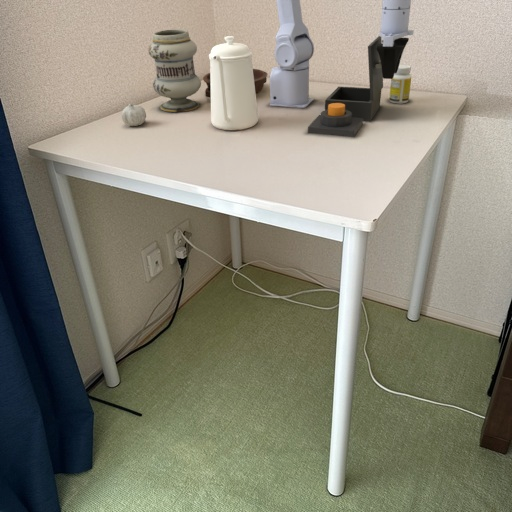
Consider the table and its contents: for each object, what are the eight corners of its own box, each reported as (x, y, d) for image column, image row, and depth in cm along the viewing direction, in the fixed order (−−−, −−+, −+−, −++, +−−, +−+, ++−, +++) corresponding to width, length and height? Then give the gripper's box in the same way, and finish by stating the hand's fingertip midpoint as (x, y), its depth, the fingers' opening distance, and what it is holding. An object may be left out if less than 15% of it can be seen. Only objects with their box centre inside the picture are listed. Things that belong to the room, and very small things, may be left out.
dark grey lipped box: (324, 118, 114) (325, 99, 112) (337, 103, 124) (338, 86, 121) (370, 122, 110) (371, 102, 108) (379, 106, 120) (381, 88, 118)
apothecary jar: (159, 116, 121) (147, 37, 111) (154, 103, 131) (142, 30, 121) (207, 110, 124) (200, 32, 114) (198, 98, 133) (191, 26, 124)
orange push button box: (307, 133, 106) (308, 117, 104) (319, 121, 113) (319, 105, 111) (353, 137, 102) (354, 121, 100) (362, 124, 109) (363, 108, 107)
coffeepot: (195, 142, 104) (185, 47, 93) (225, 108, 124) (219, 28, 114) (245, 144, 101) (240, 47, 91) (267, 109, 122) (265, 27, 112)
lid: (367, 46, 103) (389, 43, 101) (378, 36, 112) (398, 33, 110) (370, 101, 108) (391, 99, 106) (380, 87, 118) (399, 85, 116)
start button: (325, 116, 105) (326, 107, 104) (330, 111, 108) (330, 102, 107) (342, 117, 104) (343, 108, 103) (346, 112, 107) (346, 103, 105)
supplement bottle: (406, 98, 125) (411, 64, 121) (409, 103, 121) (414, 68, 117) (387, 98, 126) (391, 64, 121) (390, 104, 122) (393, 68, 117)
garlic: (134, 130, 112) (130, 107, 110) (118, 126, 115) (114, 104, 112) (152, 122, 117) (149, 100, 114) (136, 119, 119) (132, 98, 116)
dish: (185, 97, 135) (183, 78, 132) (241, 81, 148) (240, 63, 146) (230, 107, 125) (229, 87, 122) (285, 89, 138) (285, 70, 135)
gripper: (411, 12, 96) (403, 83, 103) (419, 3, 107) (412, 69, 114) (375, 12, 98) (370, 82, 105) (386, 4, 109) (381, 68, 116)
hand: (390, 75), depth 110 cm, fingers closed on lid, 5 cm apart
